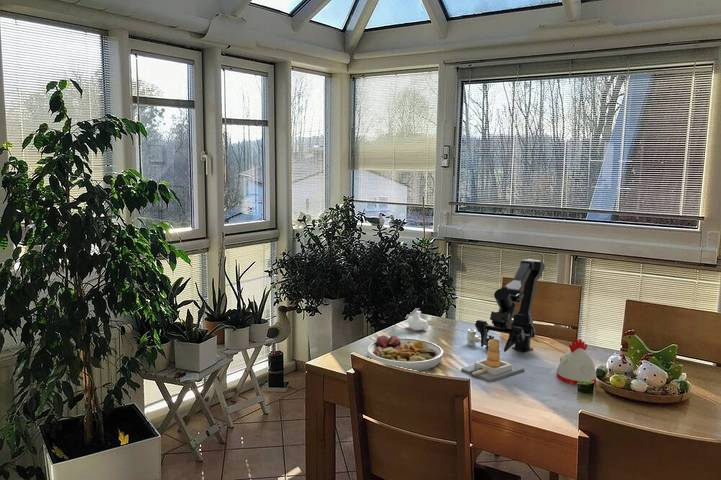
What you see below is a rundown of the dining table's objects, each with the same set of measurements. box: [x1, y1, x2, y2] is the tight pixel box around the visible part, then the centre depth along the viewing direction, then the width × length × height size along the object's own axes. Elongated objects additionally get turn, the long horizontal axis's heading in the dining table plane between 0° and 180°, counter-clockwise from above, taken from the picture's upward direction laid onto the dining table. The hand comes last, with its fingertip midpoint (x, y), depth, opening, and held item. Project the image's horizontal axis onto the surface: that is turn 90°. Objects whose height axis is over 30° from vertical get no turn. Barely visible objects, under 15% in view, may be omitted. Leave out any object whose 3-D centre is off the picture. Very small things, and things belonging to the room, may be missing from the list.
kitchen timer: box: [556, 338, 597, 386], centre depth 223 cm, size 14×14×15 cm
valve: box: [466, 328, 495, 351], centre depth 259 cm, size 7×7×12 cm
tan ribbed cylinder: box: [485, 338, 501, 369], centre depth 230 cm, size 5×5×11 cm
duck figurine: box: [406, 309, 429, 331], centre depth 282 cm, size 12×8×11 cm
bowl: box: [366, 334, 444, 372], centre depth 240 cm, size 30×30×8 cm
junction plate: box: [460, 358, 525, 383], centre depth 230 cm, size 21×14×3 cm, turn 127°
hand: (493, 348), depth 228 cm, fingers open, 9 cm apart
